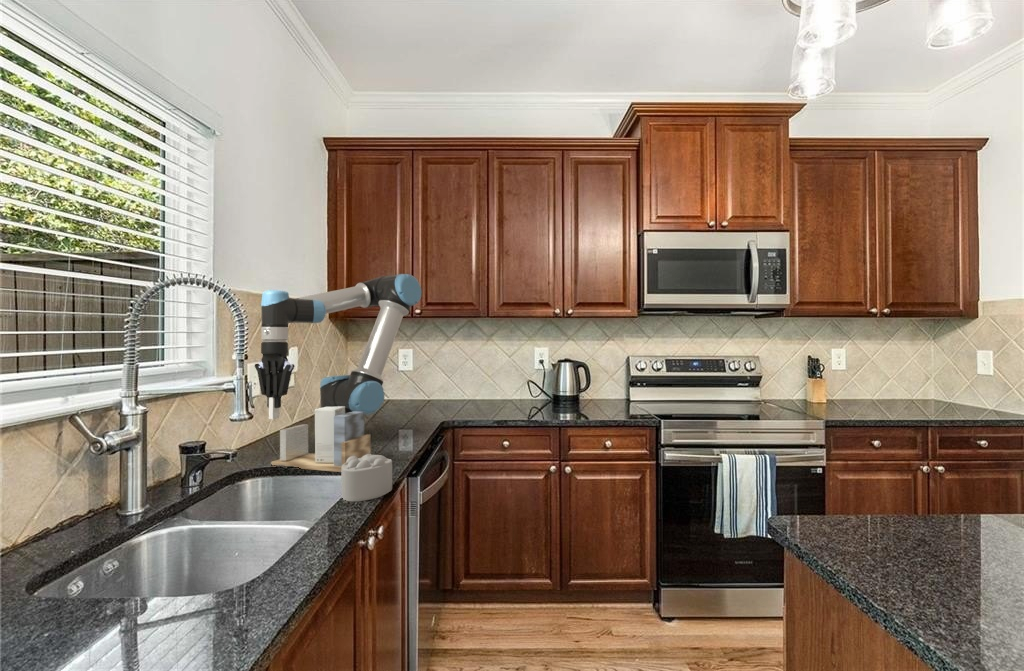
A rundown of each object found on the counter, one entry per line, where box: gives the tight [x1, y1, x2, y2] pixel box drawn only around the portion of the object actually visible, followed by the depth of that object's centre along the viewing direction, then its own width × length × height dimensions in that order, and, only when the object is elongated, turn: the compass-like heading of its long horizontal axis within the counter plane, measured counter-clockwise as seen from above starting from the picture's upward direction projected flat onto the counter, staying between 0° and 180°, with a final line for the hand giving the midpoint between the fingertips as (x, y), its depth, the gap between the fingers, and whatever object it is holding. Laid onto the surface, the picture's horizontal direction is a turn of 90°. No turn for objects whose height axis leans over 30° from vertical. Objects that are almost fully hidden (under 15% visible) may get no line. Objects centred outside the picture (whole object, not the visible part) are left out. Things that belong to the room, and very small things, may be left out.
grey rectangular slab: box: [279, 423, 309, 461], centre depth 159 cm, size 10×2×9 cm, turn 164°
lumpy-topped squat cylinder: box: [340, 454, 393, 502], centre depth 128 cm, size 10×13×9 cm
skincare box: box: [314, 406, 345, 463], centre depth 156 cm, size 8×7×16 cm
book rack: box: [270, 411, 372, 473], centre depth 156 cm, size 13×25×15 cm, turn 73°
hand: (274, 418), depth 161 cm, fingers closed
